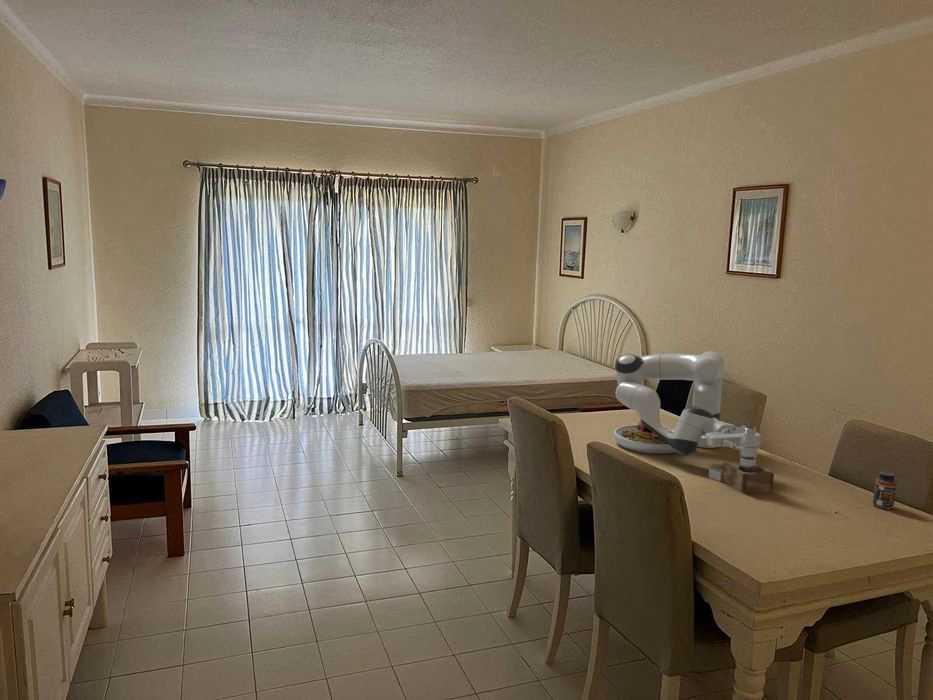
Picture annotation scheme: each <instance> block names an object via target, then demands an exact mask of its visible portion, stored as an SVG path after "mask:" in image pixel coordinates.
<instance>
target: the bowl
mask: <svg viewBox="0 0 933 700" xmlns="http://www.w3.org/2000/svg"><path fill="white" fill-rule="evenodd" d="M663 427H664V428H666V429H667V430H668V431H670V432H671V433H673V432H674V430H675V428H674V429H673V428H670V427H669V428H668V427H665V426H663ZM613 437H614V440H615V441H616V442H617V444H618V445H620V446H621V447H623V448H625V449H628V450H630V451H633V452H638V453H641V454H642V453H643V454H651V455H652V454H653V455H667V454H674V453H678V452H677V451H675V450H674V449H673V448H672V447H671V446H670V445H669V444H668V443H666V442H665V441H664V440H662V439H661V438H660V437H658V436H657V435H656V434H654V433H653V432H652V431H651V430H649V429H648V428H647V427H646V426H644V425H643V424H642V422H641V421H640V422H638V424H633V425H624V426H620V427H617V428H616V429H615V430H614V432H613Z"/></svg>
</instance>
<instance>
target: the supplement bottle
mask: <svg viewBox="0 0 933 700" xmlns="http://www.w3.org/2000/svg"><path fill="white" fill-rule="evenodd" d="M896 492H897V482H896V480H895V474H894V473H893V472H889V471H880V473H879V476H878V477H877V478H875V483H874V492H873V497H872V498H873V499H872V505H873V504H874V505H876V506H879V507H883V508H891V507H893V506H894V505H895V500H896ZM874 505H873V506H874ZM876 506H875V507H876ZM893 508H894V507H893Z"/></svg>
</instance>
